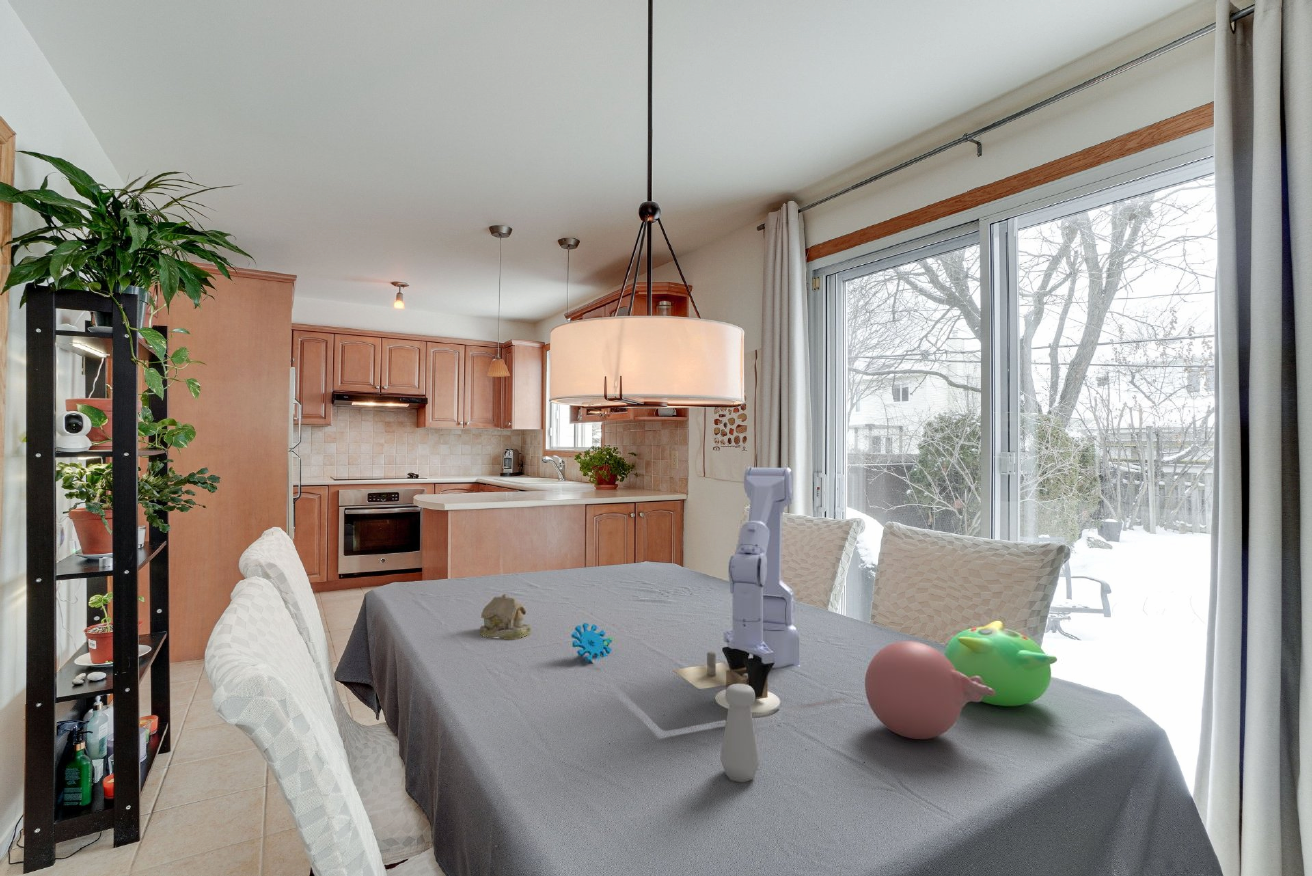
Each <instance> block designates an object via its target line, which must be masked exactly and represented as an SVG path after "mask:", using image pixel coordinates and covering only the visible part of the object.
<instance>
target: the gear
mask: <svg viewBox="0 0 1312 876" xmlns="http://www.w3.org/2000/svg"><path fill="white" fill-rule="evenodd" d="M588 627H590V624H589V623H588V622H583V624H582V625H577V626H575V627H574V632H573V633H572V634H571V635H570V637H571V638H573V639H574V640H573V641H572V644H571V646H572V647H573V648H579V649H577V651H576V652H577V655H578V656H579V657H584V656H585V655H586V654H588V655H587V656H585V658H584V660H585V661H586V662H587V663H590V662H592V660H593V655H594V656H595V657H596V658H595V660H596V661H597V660H600V659H601V658H606V657H609V654H610V653H611V651H612V647H610V646H609V645H610V644H611V643H612V642H613V641H614V637H613V636H609V637H608V638H603V637H605V636H606V632H605V630H603V629H601V630H600V631H599V632H595V631H597V630H598V628H599V627H598V626H597V624H595V623H594V624H592V626H591V627H590V630H588ZM582 629H583V631H582ZM600 655H601V656H600Z"/></svg>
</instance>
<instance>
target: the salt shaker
mask: <svg viewBox="0 0 1312 876" xmlns="http://www.w3.org/2000/svg"><path fill="white" fill-rule="evenodd" d="M725 690H726V693H725V697H726V701H727V703H728V704H729V709H728V710H727V716H726V722H725V726H724V733H723V739H722V743H721V748H720V749H721V750H720V755H719V759H720V762H721V765H722V769H723V770H724V773H725V775H726V776H727V777H728V779H731V781H733V782H739V783H746V782H749V781H753V780H754V779H755V776H756V773H757V771H758V768H759V766H760V763H761V756H760V753H759V752H760V751H759V746H758V741H757V735H756V729H755V725H754V718H752V714H753V713H751V707H750V705H753V703H754V701H755V692H754V690H753V688H752V687H751V686H749V685H746V684H732V685H730V686H729V687H728V688H727V689H726V688H725Z"/></svg>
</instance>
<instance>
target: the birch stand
mask: <svg viewBox="0 0 1312 876" xmlns="http://www.w3.org/2000/svg"><path fill="white" fill-rule="evenodd" d="M716 654H717V653H716V652H715V651H714V652H713V651H707V652H706V664H704V665H697V666H690V667H684V668H676V669H672V671H673V672H675V673H676V674H677V675H679V676H680V677H681V678H683V679H684V680H685V681H686V682H688V683H689V684H690V685H693V686H694V687H695V688H697V690H705V689H711V688H717V687H723V686H726V670H730V668H729V665H727V664H725V663H724V662H717V658H716V656H717V655H716ZM716 662H717V663H716Z"/></svg>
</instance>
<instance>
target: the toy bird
mask: <svg viewBox="0 0 1312 876" xmlns="http://www.w3.org/2000/svg"><path fill="white" fill-rule="evenodd" d="M1003 624H1004V623H1003V622H1002V621H1000V620H995V621H992V622H989V623H987V624H986V625H984V626H976V627H975V626H974V627H970V628H967V629H964V630H962V631H960V632H959V633H957V634H955V635H954V636H953V637H952V638H951V640H950V641H949V642H948V644H947V646H946V648H945V651H944V656H945V657H946V658H947V659H948V660H949V661H950V662H951V663H952V665H953V666H954V668H955V669H956V671H958V672H960V673H962V674H964V675H966V676H967V677H968V678H970V677H973V676H979V677H981V679H982V681H983V683H984V684H985V686H987V687H990V688H992V689H993V690H994V691H995V695H994V696H986V695H984V696H983V698H982V700H981V701H980V702H982V703H985V704H989V705H993V706H1000V707H1018V706H1023V705H1027V704H1030V703H1032V702H1034V701H1036V700H1038V699H1039V698H1041V697H1042V696H1043V695H1044V694H1045V692H1046V691H1047V690H1048V688H1049V686H1050V685H1051V684H1050V683H1051V678H1052V669H1051V665H1053V664H1055V663H1056V662H1058V658H1057V657H1056V656H1054V655H1052V654H1049V653H1046V652H1045V651H1044V650H1043V649H1042V648H1041V646H1040V645H1039V644H1038V643H1036V642H1035V641H1034V640H1033V639H1031V638H1030V637H1029V636H1026V635H1024V634H1022V633H1021V632H1017V631H1015V630H1012V629H1008V628H1005V627H1004V625H1003Z"/></svg>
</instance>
